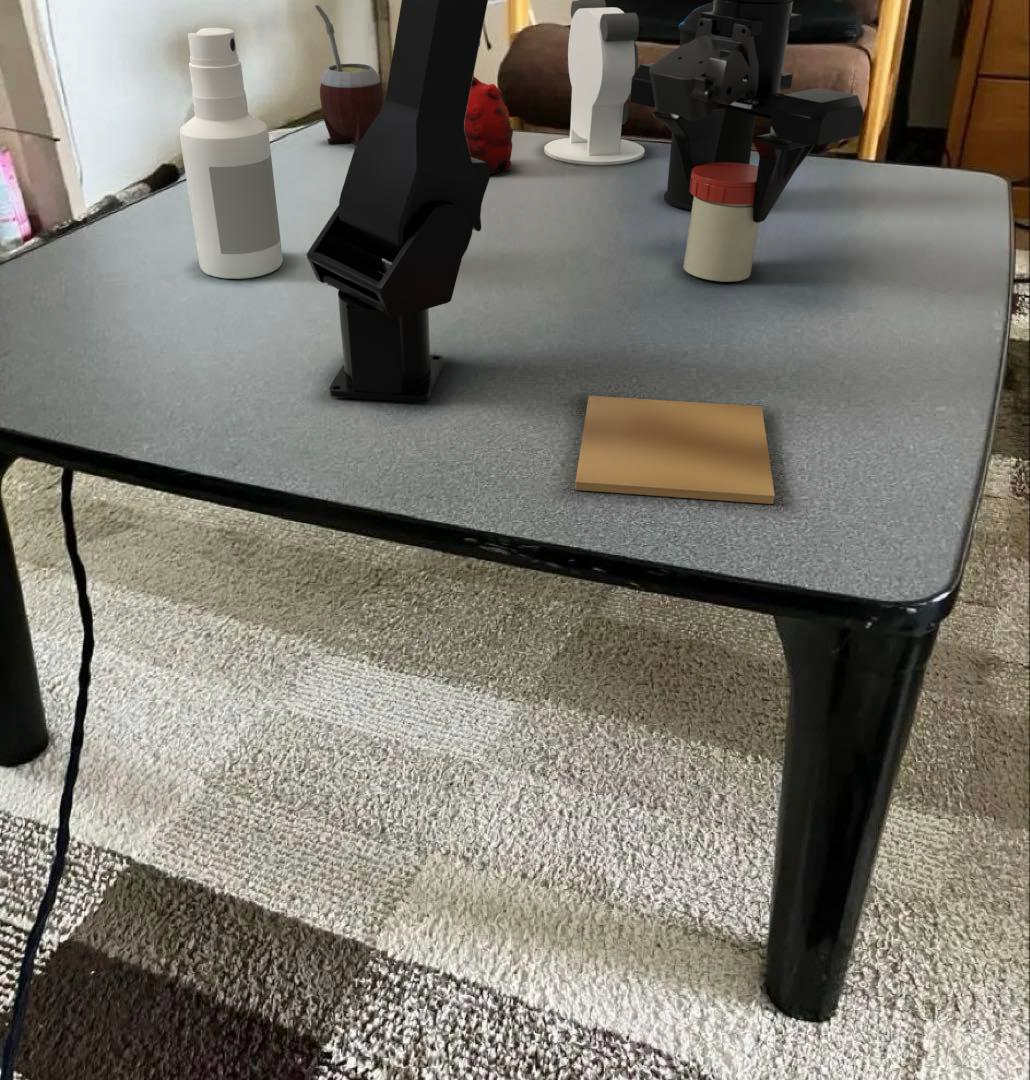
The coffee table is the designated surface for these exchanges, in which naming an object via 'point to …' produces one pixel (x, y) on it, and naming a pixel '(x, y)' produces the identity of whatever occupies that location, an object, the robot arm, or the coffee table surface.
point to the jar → (720, 241)
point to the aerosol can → (731, 140)
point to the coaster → (675, 450)
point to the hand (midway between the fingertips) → (726, 211)
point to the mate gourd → (348, 96)
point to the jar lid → (724, 182)
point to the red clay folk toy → (488, 126)
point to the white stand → (599, 85)
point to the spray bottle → (228, 166)
